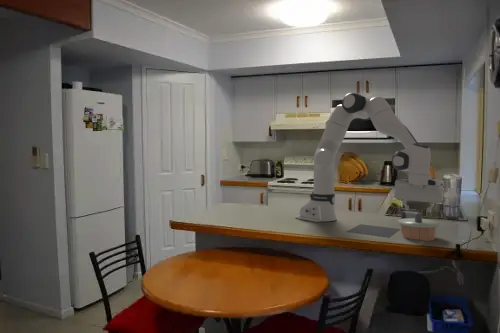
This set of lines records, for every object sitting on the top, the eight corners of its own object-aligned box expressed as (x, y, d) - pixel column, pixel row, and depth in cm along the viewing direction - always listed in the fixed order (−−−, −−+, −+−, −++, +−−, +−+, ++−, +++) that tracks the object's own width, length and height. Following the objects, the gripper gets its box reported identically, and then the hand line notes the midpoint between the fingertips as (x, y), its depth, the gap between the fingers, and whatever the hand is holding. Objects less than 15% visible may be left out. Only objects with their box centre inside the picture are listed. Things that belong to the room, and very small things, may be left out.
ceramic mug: (422, 227, 204) (422, 212, 203) (405, 227, 204) (406, 212, 203) (413, 223, 214) (414, 209, 214) (398, 223, 214) (398, 209, 214)
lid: (393, 224, 182) (394, 214, 182) (403, 218, 196) (403, 208, 196) (435, 229, 173) (435, 218, 173) (442, 222, 187) (442, 212, 187)
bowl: (398, 238, 183) (398, 224, 183) (405, 232, 195) (406, 219, 194) (431, 242, 175) (432, 228, 175) (437, 235, 187) (438, 222, 186)
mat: (345, 232, 193) (346, 231, 193) (360, 225, 210) (360, 224, 210) (389, 238, 182) (389, 237, 182) (400, 230, 199) (400, 229, 199)
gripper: (393, 179, 186) (392, 209, 187) (442, 182, 175) (440, 214, 176) (396, 178, 191) (395, 207, 192) (444, 181, 180) (443, 212, 181)
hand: (417, 210), depth 184 cm, fingers open, 8 cm apart
